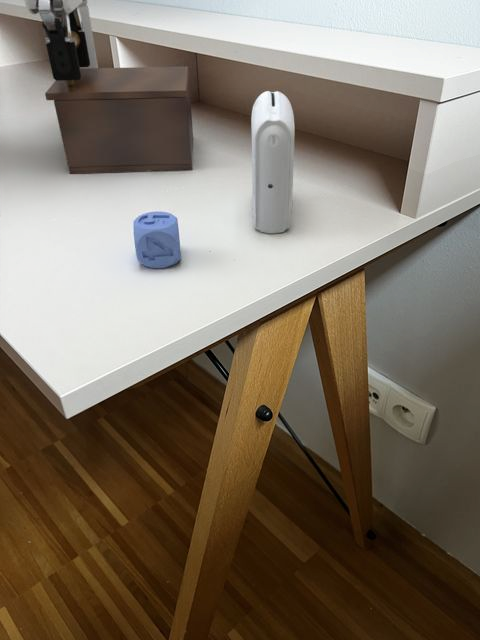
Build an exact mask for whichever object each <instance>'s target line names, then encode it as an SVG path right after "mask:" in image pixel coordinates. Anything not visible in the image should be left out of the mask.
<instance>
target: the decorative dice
mask: <svg viewBox="0 0 480 640" xmlns="http://www.w3.org/2000/svg"><path fill="white" fill-rule="evenodd" d="M132 223H133V239H134V241H133V243H134V248H135V254H136V259H137V262H138V263H140V264H141V265H142V266H145V267H147V268H150V269H165V268H170V267H172V266H174V265H175V264H177V263H178V262H179V261H180V260H181V259H182V255H181V254H182V252H181V243H180V242H181V240H180V229H179V222H178V217H176V216H175V215H174V214H172V213H171V212H166V211H149V212H145V213H142V214H140V215H138V216H137V217H135V219H134V220H133V222H132Z"/></svg>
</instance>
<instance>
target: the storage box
mask: <svg viewBox="0 0 480 640" xmlns="http://www.w3.org/2000/svg"><path fill="white" fill-rule="evenodd" d="M53 104H54V108H55V113H56V118H57V123H58V127H59V131H60V136H61V141H62V145H63V151H64V154H65V159H66V163H67V167H68V172H69V174H70V175H74V174H75V175H76V174H100V173H101V174H103V173H105V174H107V173H108V172H109V173H128V172H127V171H140V172H148V171H147V170H172V171H192V170H193V164H194V163H193V161H194V159H193V158H194V128H193V115H192V102H191V89H190V77H189V73H188V83H187V96H186V97H171V98H129V99H86V100H53ZM125 171H126V172H125Z"/></svg>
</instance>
